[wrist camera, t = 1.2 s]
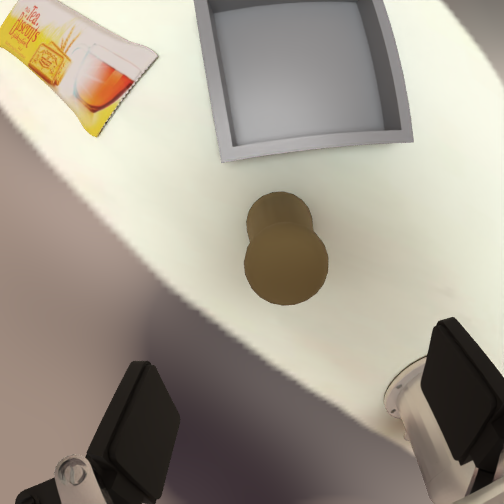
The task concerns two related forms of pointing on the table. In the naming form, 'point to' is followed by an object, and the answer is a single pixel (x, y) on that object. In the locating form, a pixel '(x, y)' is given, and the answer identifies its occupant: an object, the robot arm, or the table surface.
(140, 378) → the robot arm
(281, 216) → the cork
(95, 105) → the food package
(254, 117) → the tote
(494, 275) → the table surface
